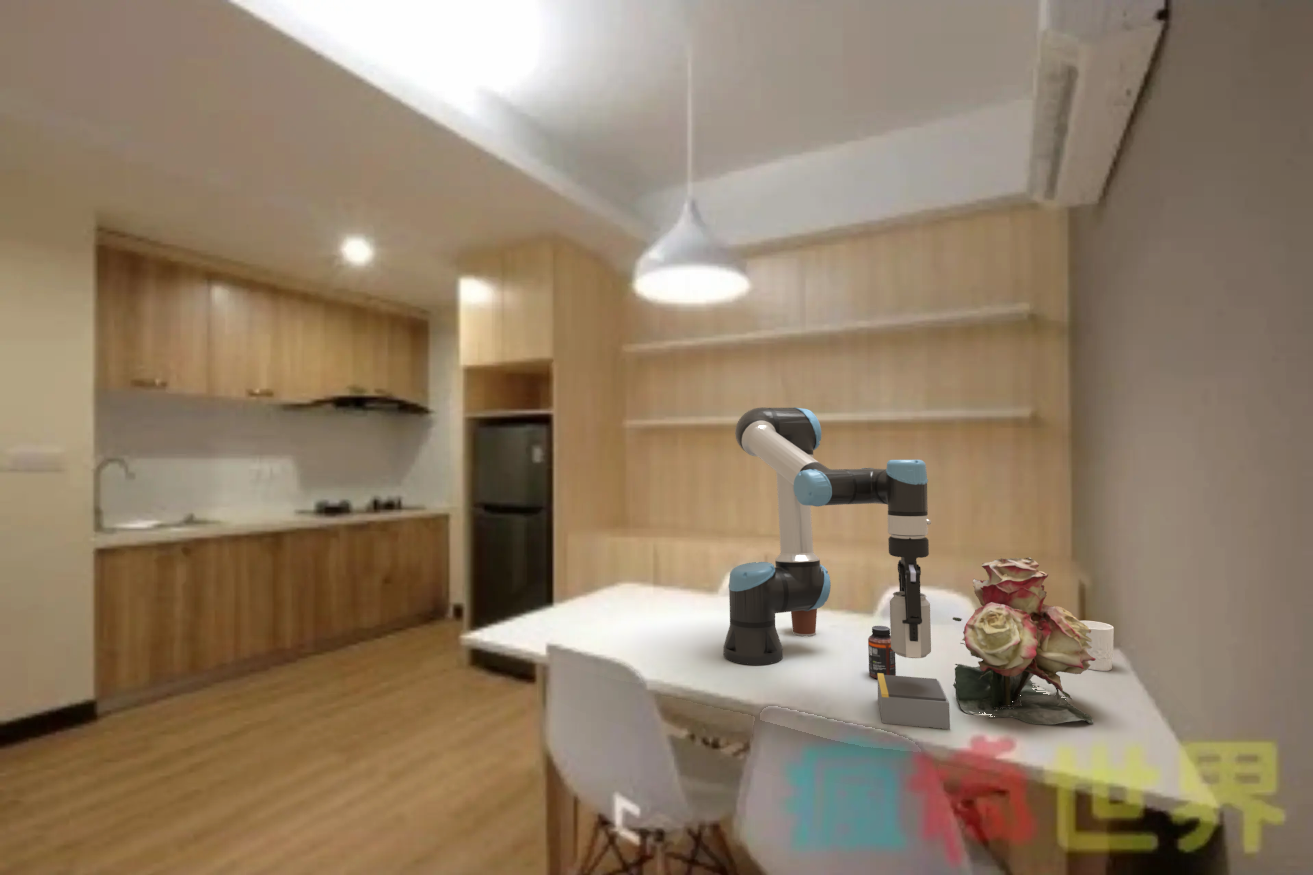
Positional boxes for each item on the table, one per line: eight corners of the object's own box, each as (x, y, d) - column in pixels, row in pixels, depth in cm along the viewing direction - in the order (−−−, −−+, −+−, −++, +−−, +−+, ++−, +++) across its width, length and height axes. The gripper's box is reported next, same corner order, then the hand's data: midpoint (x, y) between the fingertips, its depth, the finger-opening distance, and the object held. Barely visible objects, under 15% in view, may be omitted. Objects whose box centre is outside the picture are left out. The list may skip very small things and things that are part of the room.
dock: (882, 722, 123) (881, 693, 123) (877, 699, 135) (877, 672, 135) (949, 729, 120) (949, 699, 120) (939, 704, 131) (938, 677, 132)
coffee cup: (787, 628, 190) (786, 588, 190) (818, 629, 188) (817, 588, 189) (789, 637, 181) (788, 594, 181) (822, 638, 179) (821, 595, 180)
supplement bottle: (895, 673, 150) (894, 625, 151) (896, 682, 145) (895, 632, 145) (868, 670, 152) (868, 623, 153) (868, 679, 147) (867, 629, 147)
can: (924, 648, 131) (922, 589, 131) (936, 659, 123) (935, 597, 124) (886, 647, 132) (885, 589, 132) (896, 659, 124) (895, 597, 124)
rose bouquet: (962, 722, 123) (958, 566, 124) (947, 673, 150) (945, 545, 151) (1119, 741, 114) (1114, 573, 115) (1073, 685, 142) (1070, 550, 143)
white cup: (1117, 665, 154) (1116, 624, 154) (1112, 674, 148) (1110, 631, 148) (1078, 658, 159) (1077, 618, 160) (1072, 666, 154) (1071, 625, 154)
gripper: (936, 543, 117) (939, 668, 117) (921, 530, 137) (923, 637, 136) (893, 542, 119) (896, 665, 119) (884, 529, 139) (886, 635, 138)
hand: (910, 650), depth 127 cm, fingers closed on can, 7 cm apart
